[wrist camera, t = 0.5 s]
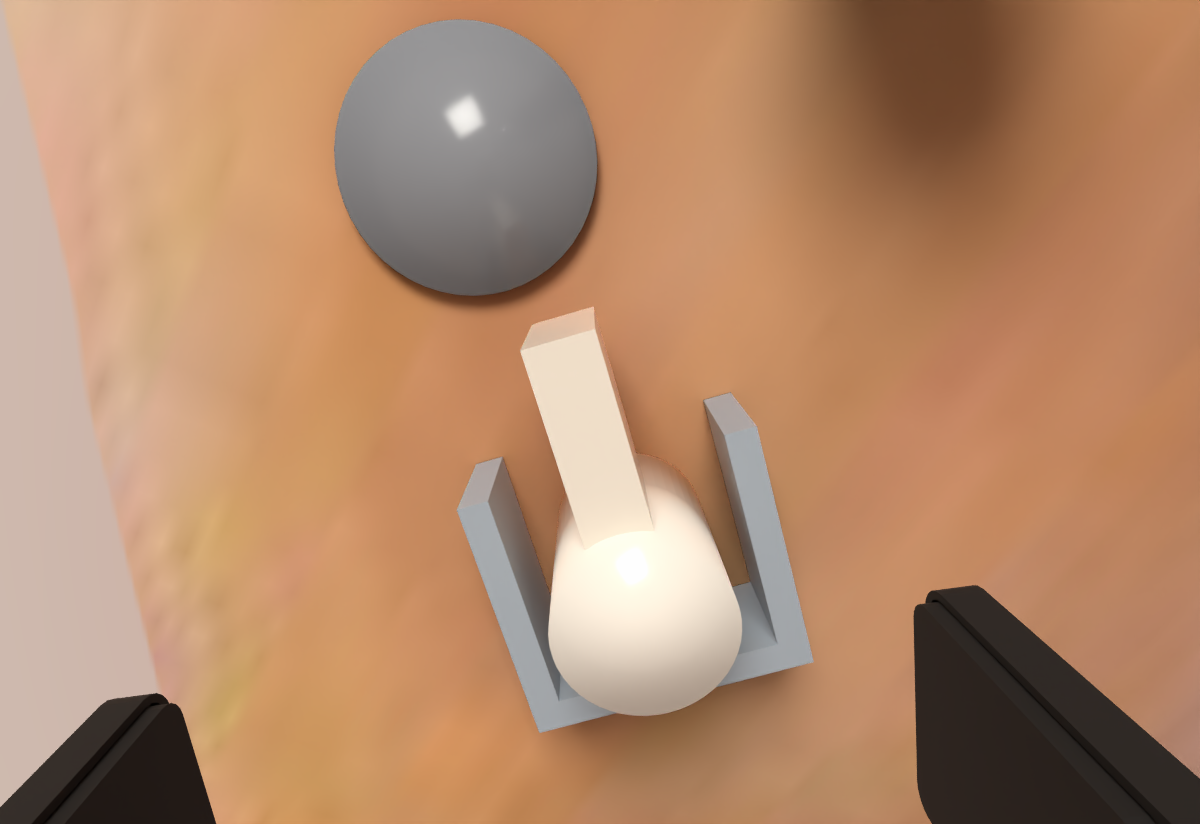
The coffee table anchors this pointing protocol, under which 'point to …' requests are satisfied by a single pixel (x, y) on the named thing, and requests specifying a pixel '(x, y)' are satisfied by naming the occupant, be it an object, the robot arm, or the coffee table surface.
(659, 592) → the white lever knob
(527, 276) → the grey round disc
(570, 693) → the holder
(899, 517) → the coffee table surface
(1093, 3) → the coffee table surface
